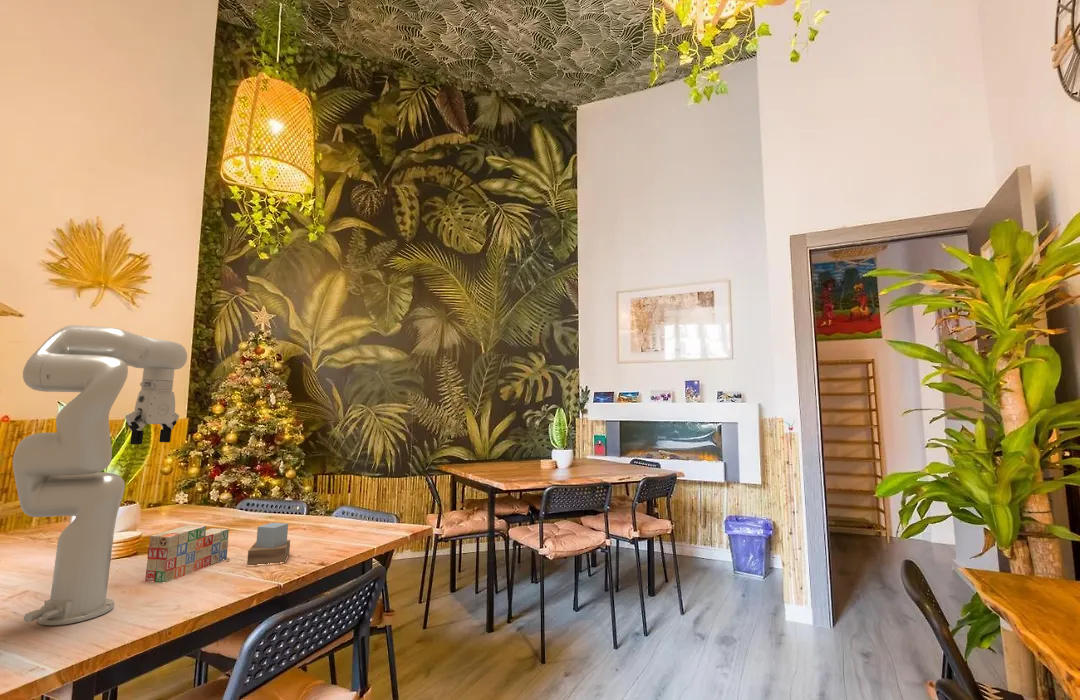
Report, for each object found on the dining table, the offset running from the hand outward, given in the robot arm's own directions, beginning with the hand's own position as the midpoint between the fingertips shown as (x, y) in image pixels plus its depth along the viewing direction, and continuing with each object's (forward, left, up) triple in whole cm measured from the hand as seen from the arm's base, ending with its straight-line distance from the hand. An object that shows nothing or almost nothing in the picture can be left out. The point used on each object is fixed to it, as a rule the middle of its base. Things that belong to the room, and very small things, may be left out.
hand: (150, 443), depth 145 cm
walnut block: (+12, -33, -37) cm, 51 cm away
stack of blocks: (+1, -15, -37) cm, 40 cm away
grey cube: (+12, -33, -32) cm, 47 cm away
